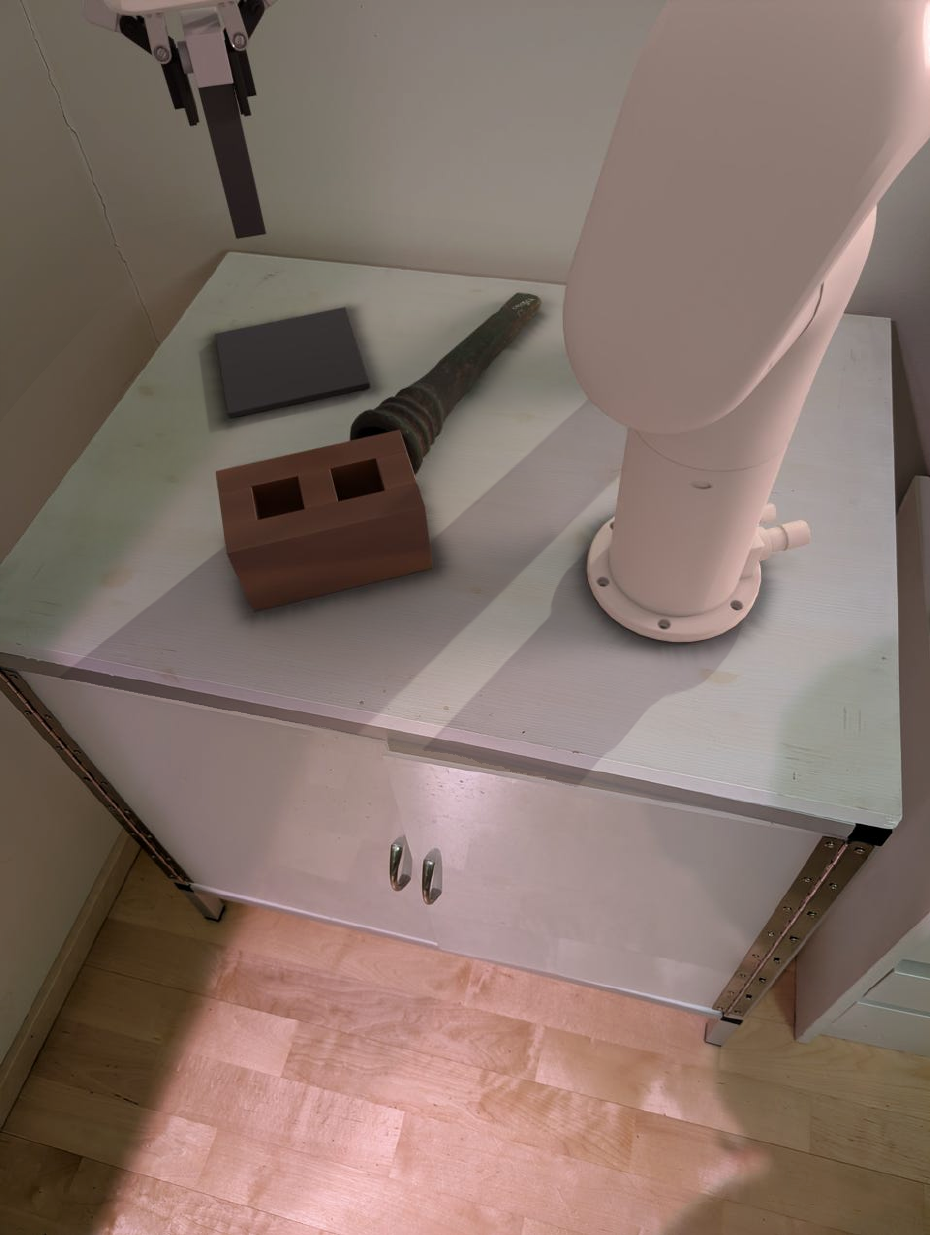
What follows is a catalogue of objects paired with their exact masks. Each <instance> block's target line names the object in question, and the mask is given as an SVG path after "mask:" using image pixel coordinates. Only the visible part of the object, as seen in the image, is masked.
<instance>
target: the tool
mask: <svg viewBox="0 0 930 1235" xmlns="http://www.w3.org/2000/svg"><path fill="white" fill-rule="evenodd" d="M541 305H542V299H541V298H540V297H539V296H538V295H536V294H532V293H527V292H516V293H515V294H513V295H512V296H511V297H510V298H509V299H508V300H507V301H506V302H505V303H504V304H503V305H502V306H501V307H500V308H499V310H498V311H496V312H494V313H493V314H492V315H491V316H489V317H487V319H486V320H485V321H483V323H481V324H480V325H479V326H478V327H477V328H476V329H475V330H473V331H472V332H471V333H470V334H468V335H467V336H466V337H465V338H464V339H463V340H462V341H460V342H459V343H458V344H457V345H456V346H455V347H453V348H452V349H451V350H450V351H449V352H448V353H447V354H445V355H444V356H443V357H442V358H441V359H440V360H439V361H438V362H437V363H436V365H434V366H433V367H432V368H431V369H430V370H429V371H428V372H427V373H426V374H425V375H423V376H422V377H421V378H419V379H418V380H416V381H415V382H413V383H412V384H410V385H407V386H406V387H403V388H401V389H400V390H398V392H397V393H396V394H395V395H394V396H389V397H387V398H385V399H384V400H382V401H381V403H379V405H378V406H376V407H375V408H373V409H372V408H369V409H366V410H364V411H362V412H361V413H359V415H357V417H355V419H354V420H353V421H352V423H351V426H350V430H349V441H352V440H356V439H361V438H365V437H370V436H374V435H379V434H383V433H388V432H392V431H396V430H400V432H401V435H402V438H403V441H404V444H405V447H406V450H407V453H408V456H409V459H410V462H411V465H412V468H413V472H414V475H415V476H417V474H418V473H419V471H420V469H421V466H422V465H423V462H424V458H425V457H427V456H428V454H429V453H430V451H431V446H433V444H434V443H435V441H436V438H437V437H439V436H440V434H441V432H442V431H443V426H444V423H445V422H446V420H447V419H448V417H449V416H450V414H451V413H452V412H453V410H455V408H456V406H457V405H458V404H459V402H460V401H461V400H462V399H463V398H464V397H465V396H466V395H467V394H468V393H469V392H470V391H471V390H472V388H473V387H474V386H475V384H476V383H477V381H478V380H479V379H480V377H481V376H482V375H483V374H484V372H485V371H486V370H487V369H488V368H489V366H490V365H491V363H493V361H494V360H495V359H496V358H497V356H499V354H500V353H501V352H502V351H503V350H504V349H505V348H506V347H507V346H508V345H509V344H510V343H511V341H513V339H514V338H516V336H518V334H519V333H520V332H521V331H522V329H523V328H525V326H526V325H527V324H528V323H529V322H530V321H531V320H532V318H533V317H534V315H536V313H537V312H538V311H539V309H540V307H541Z"/></svg>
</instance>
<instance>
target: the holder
mask: <svg viewBox="0 0 930 1235" xmlns="http://www.w3.org/2000/svg"><path fill="white" fill-rule="evenodd" d="M215 478H216V479H215V480H216V486H217V487H216V488H217V493H218V494H217V495H218V501H219V509H220V516H221V524H222V528H223V529H222V531H223V537H224V538H223V539H224V545H225V553H226V556H227V558H228V560H229V562H230V564H231V567H232V569H233V571H234V573H235V576H236V578H237V580H238V582H239V584H240V586H241V589H242V591H243V593H244V595H245V598H246V600H247V603H248V604H249V607H250V609H251V611H252V612H253V613H254V612H258V611H262V610H266V609H271V608H274V607H278V606H283V605H287V604H291V603H295V602H299V601H303V600H308V599H311V598H317V597H320V596H323V595H328V594H332V593H336V592H340V591H344V590H348V589H353V588H356V587H361V586H365V585H369V584H373V583H377V582H381V581H385V580H390V579H393V578H398V577H402V576H406V575H410V574H415V573H418V572H422V571H427V570H431V569H433V568H434V563H433V556H432V549H431V548H432V547H431V541H430V532H429V527H428V518H427V512H426V505H425V502H424V499H423V496H422V493H421V490H420V487H419V484H418V481H417V478H416V475H414V472H413V468H412V465H411V462H410V459H409V456H408V453H407V450H406V447H405V444H404V441H403V438H402V435H401V432H400V430H396V431H392V432H388V433H383V434H379V435H374V436H370V437H365V438H361V439H356V440H352V441H350V440H348V441H344V442H339V443H335V444H331V445H326V446H321V447H317V448H312V449H309V450H303V451H299V452H294V453H290V454H286V455H281V456H276V457H272V458H267V459H262V460H258V461H254V462H250V463H249V462H248V463H245V464H241V465H237V466H232V467H231V466H230V467H227V468H223V469H218V470H215Z"/></svg>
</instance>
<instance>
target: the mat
mask: <svg viewBox="0 0 930 1235" xmlns="http://www.w3.org/2000/svg"><path fill="white" fill-rule="evenodd" d="M214 335H215V336H214V337H215V344H216V349H217V355H218V361H219V368H220V374H221V380H222V388H223V393H224V401H225V405H226V406H225V407H226V412H227V417H228V418H229V419H233V418H237V417H241V416H246V415H250V414H256V413H261V412H265V411H270V410H274V409H278V408H279V409H280V408H282V407H288V406H293V405H297V404H301V403H307V402H310V401H315V400H319V399H324V398H328V397H334V396H339V395H342V394H348V393H352V392H357V391H361V390H365V389H370V388H371V384H370V380H369V377H368V374H367V371H366V368H365V364H364V360H363V358H362V355H361V352H360V348H359V345H358V342H357V340H356V336H355V333H354V329H353V325H352V323H351V320H350V316H349V314H348V309H347V307H346V306H344V307H343V306H342V307H338V308H334V309H328V310H325V311H319V312H314V313H309V314H304V315H299V316H296V317H290V318H285V319H280V320H277V321H275V320H274V321H271V322H266V323H261V324H260V323H259V324H256V325H252V326H247V327H242V328H237V329H236V328H235V329H231V330H227V331H221V332H218V333H215V334H214Z"/></svg>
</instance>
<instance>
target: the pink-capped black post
mask: <svg viewBox="0 0 930 1235" xmlns="http://www.w3.org/2000/svg"><path fill="white" fill-rule="evenodd" d="M179 17H180V21H181V27H182V31H183V36H184V40H178V41H176V47H177V48H178V50H179V55H180V59H181V62H182V66H183V70H184V73H185V74H187V75H189V74H193V76H194V80H195V84H196V87H197V89H198V93H199V98H200V102H201V105H202V110H203V114H204V117H205V122H206V125H207V128H208V133H209V137H210V141H211V145H212V149H213V153H214V156H215V161H216V165H217V168H218V173H219V176H220V182H221V184H222V185H221V186H222V188H223V192H224V197H225V201H226V205H227V208H228V212H229V216H230V221H231V224H232V227H233V232H234V236H235V239H237V240H239V239H245V238H251V237H257V236H265V235H267V230H266V225H265V221H264V217H263V212H262V207H261V203H260V198H259V193H258V189H257V186H256V180H255V176H254V172H253V171H254V170H253V167H252V161H251V159H250V153H249V149H248V145H247V144H248V143H247V140H246V135H245V130H244V126H243V122H242V118H241V113H240V109H239V105H238V101H237V97H236V93H235V89H234V85H233V79H232V74H231V70H230V65H229V61H228V56H227V52H226V47H225V43H224V40H225V37H224V33H223V30H222V25H221V22H220V19H219V14H218V10H217V7H216V6H210V7H202V8H193V9H183V10H180V11H179Z"/></svg>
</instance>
